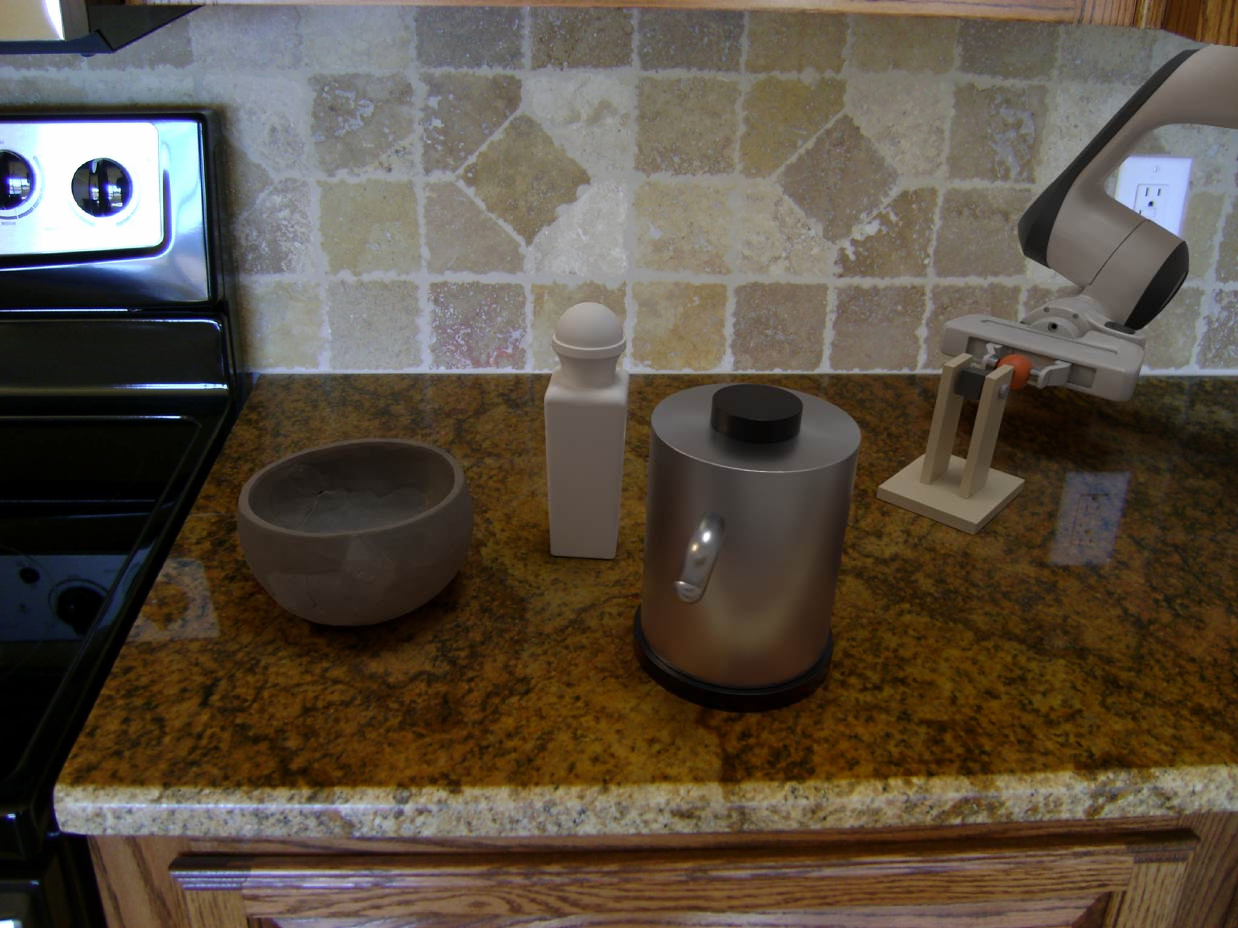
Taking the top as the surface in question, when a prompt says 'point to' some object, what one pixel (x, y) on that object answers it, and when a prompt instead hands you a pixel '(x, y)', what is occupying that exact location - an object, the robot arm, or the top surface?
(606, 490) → the white square bottle
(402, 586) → the bowl
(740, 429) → the kettle
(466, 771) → the top surface
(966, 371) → the lever
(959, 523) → the stand
